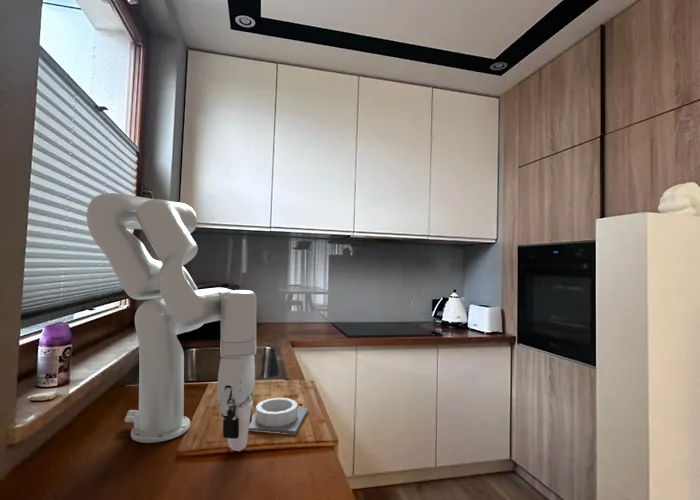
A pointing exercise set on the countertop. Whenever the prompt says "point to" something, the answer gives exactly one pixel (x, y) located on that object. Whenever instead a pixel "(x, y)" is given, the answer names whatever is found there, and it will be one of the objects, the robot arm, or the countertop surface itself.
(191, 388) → the countertop surface
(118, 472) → the countertop surface
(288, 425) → the holder
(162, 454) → the countertop surface
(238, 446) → the smoothie
